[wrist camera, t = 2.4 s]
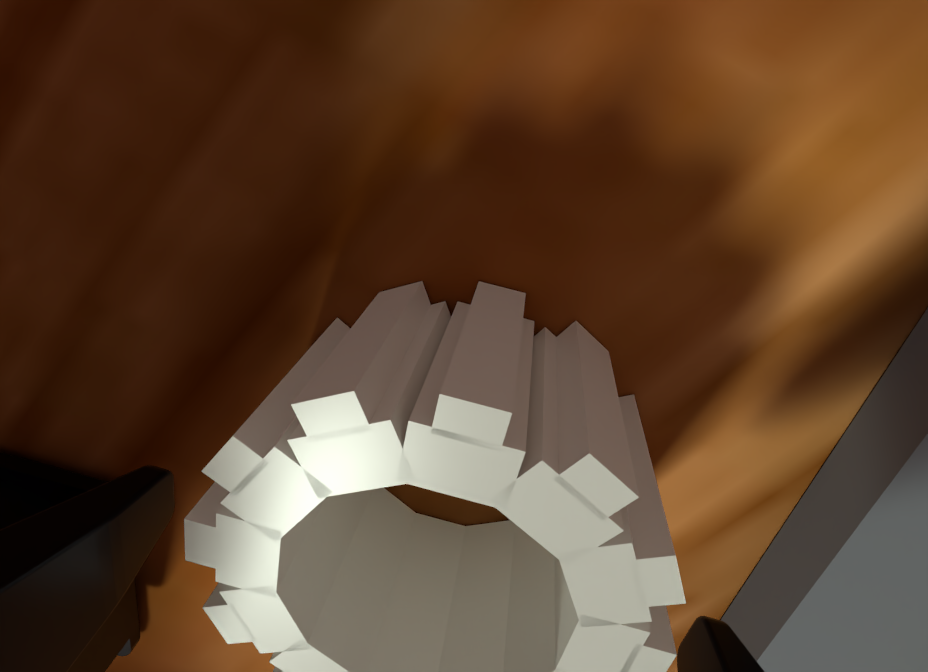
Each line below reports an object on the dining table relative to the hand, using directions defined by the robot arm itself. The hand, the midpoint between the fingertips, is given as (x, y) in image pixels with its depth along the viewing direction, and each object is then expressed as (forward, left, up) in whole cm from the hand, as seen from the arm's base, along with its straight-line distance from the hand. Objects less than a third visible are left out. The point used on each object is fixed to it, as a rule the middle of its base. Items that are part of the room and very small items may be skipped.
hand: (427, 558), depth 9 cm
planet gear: (0, 0, -3) cm, 3 cm away
